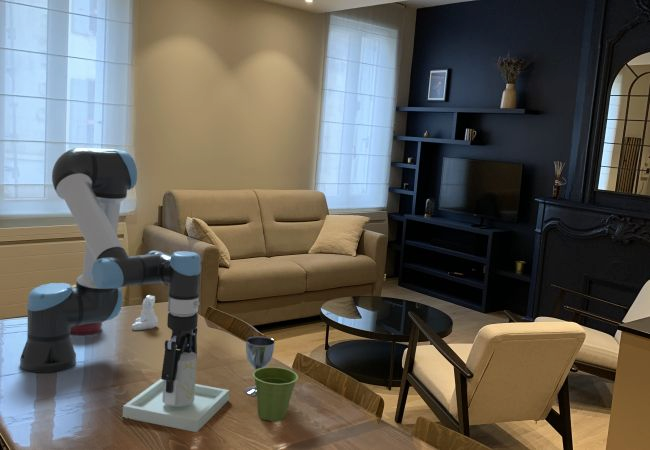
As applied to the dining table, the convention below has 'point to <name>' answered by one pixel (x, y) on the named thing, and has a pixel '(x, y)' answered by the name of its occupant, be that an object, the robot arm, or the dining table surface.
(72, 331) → the canister
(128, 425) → the dining table surface
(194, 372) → the white round cylinder
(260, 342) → the wine glass
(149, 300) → the sitting furry creature
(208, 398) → the tray
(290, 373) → the plant pot
